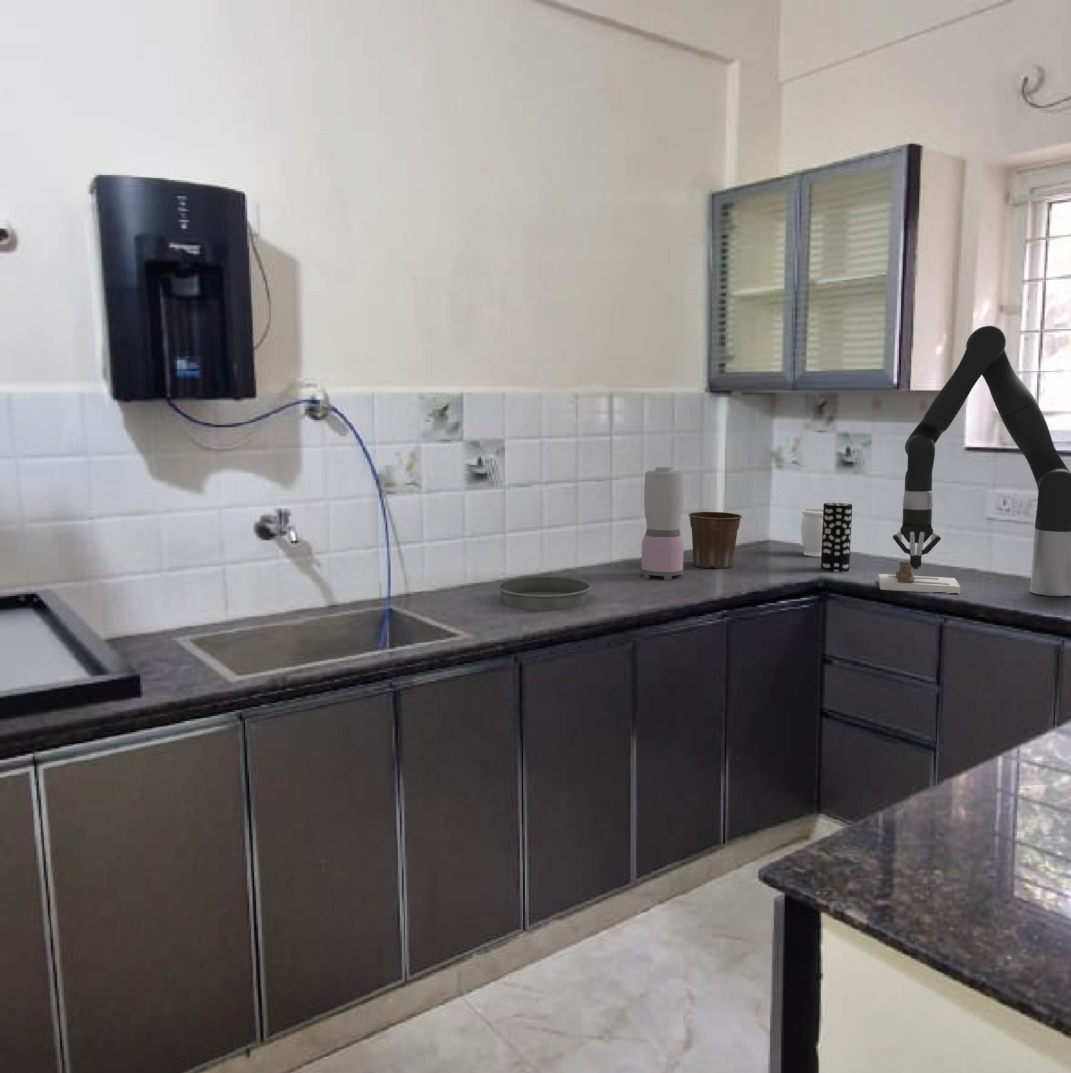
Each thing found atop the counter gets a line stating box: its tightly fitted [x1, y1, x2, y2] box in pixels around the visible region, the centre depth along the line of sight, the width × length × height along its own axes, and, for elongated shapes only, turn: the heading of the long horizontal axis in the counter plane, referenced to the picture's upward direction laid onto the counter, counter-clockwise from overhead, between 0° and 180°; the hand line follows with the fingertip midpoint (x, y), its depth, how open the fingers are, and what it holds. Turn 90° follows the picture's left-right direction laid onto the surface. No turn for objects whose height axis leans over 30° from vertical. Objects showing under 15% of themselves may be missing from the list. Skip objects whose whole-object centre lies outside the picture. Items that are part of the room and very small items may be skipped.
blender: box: [640, 465, 685, 581], centre depth 278 cm, size 16×12×32 cm
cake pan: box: [496, 575, 593, 611], centre depth 244 cm, size 25×25×4 cm
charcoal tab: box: [894, 559, 913, 577], centre depth 267 cm, size 4×4×4 cm
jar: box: [800, 508, 823, 558], centre depth 316 cm, size 11×10×15 cm
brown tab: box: [897, 564, 914, 582], centre depth 260 cm, size 4×4×4 cm
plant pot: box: [688, 511, 743, 570], centre depth 295 cm, size 16×16×16 cm
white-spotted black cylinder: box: [820, 502, 853, 573], centre depth 289 cm, size 8×8×20 cm
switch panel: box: [878, 573, 961, 595], centre depth 263 cm, size 20×13×2 cm, turn 72°
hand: (915, 568), depth 266 cm, fingers closed
